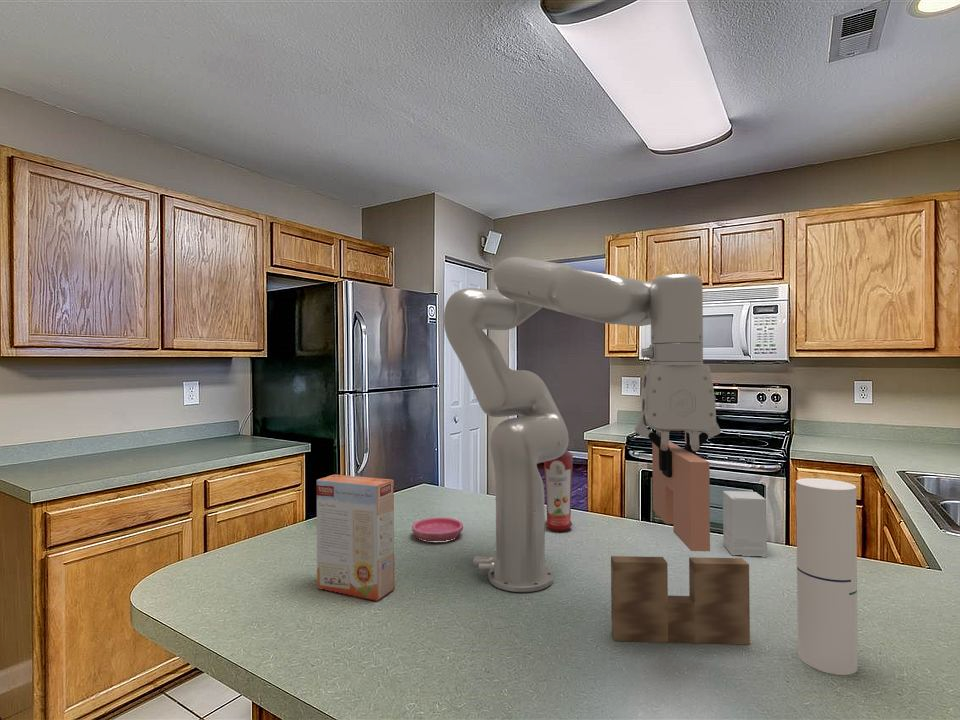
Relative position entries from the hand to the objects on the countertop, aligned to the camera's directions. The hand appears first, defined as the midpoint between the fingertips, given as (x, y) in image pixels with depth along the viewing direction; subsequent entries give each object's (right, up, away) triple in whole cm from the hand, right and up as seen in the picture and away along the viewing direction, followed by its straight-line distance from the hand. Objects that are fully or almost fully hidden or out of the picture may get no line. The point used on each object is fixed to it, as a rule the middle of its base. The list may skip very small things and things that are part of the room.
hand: (677, 474), depth 82 cm
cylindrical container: (+19, -25, -6) cm, 32 cm away
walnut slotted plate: (0, -25, 0) cm, 25 cm away
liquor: (-10, -26, +54) cm, 60 cm away
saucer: (-41, -26, +49) cm, 69 cm away
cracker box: (-54, -26, +18) cm, 62 cm away
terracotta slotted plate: (0, -8, 0) cm, 8 cm away
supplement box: (+29, -25, +37) cm, 53 cm away
